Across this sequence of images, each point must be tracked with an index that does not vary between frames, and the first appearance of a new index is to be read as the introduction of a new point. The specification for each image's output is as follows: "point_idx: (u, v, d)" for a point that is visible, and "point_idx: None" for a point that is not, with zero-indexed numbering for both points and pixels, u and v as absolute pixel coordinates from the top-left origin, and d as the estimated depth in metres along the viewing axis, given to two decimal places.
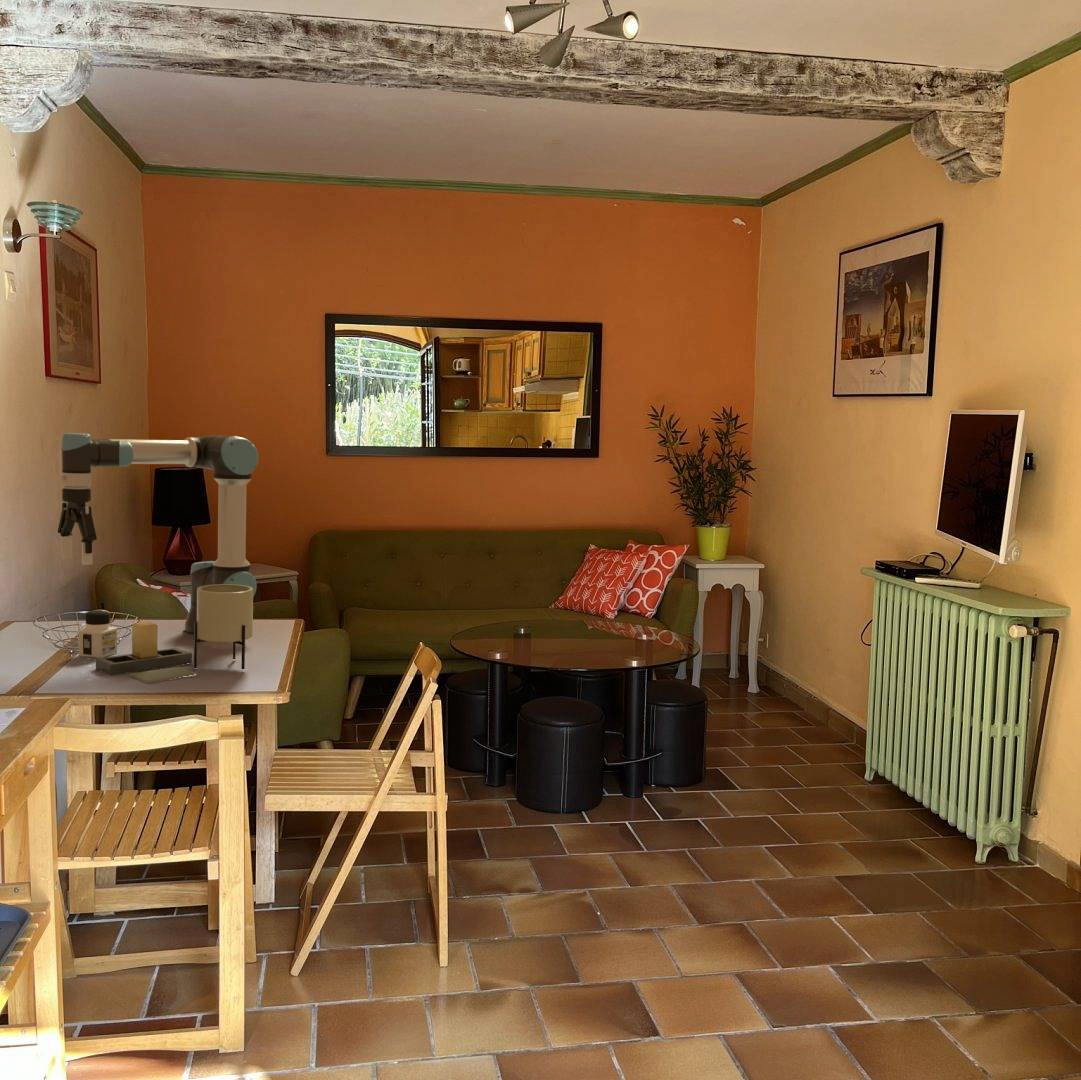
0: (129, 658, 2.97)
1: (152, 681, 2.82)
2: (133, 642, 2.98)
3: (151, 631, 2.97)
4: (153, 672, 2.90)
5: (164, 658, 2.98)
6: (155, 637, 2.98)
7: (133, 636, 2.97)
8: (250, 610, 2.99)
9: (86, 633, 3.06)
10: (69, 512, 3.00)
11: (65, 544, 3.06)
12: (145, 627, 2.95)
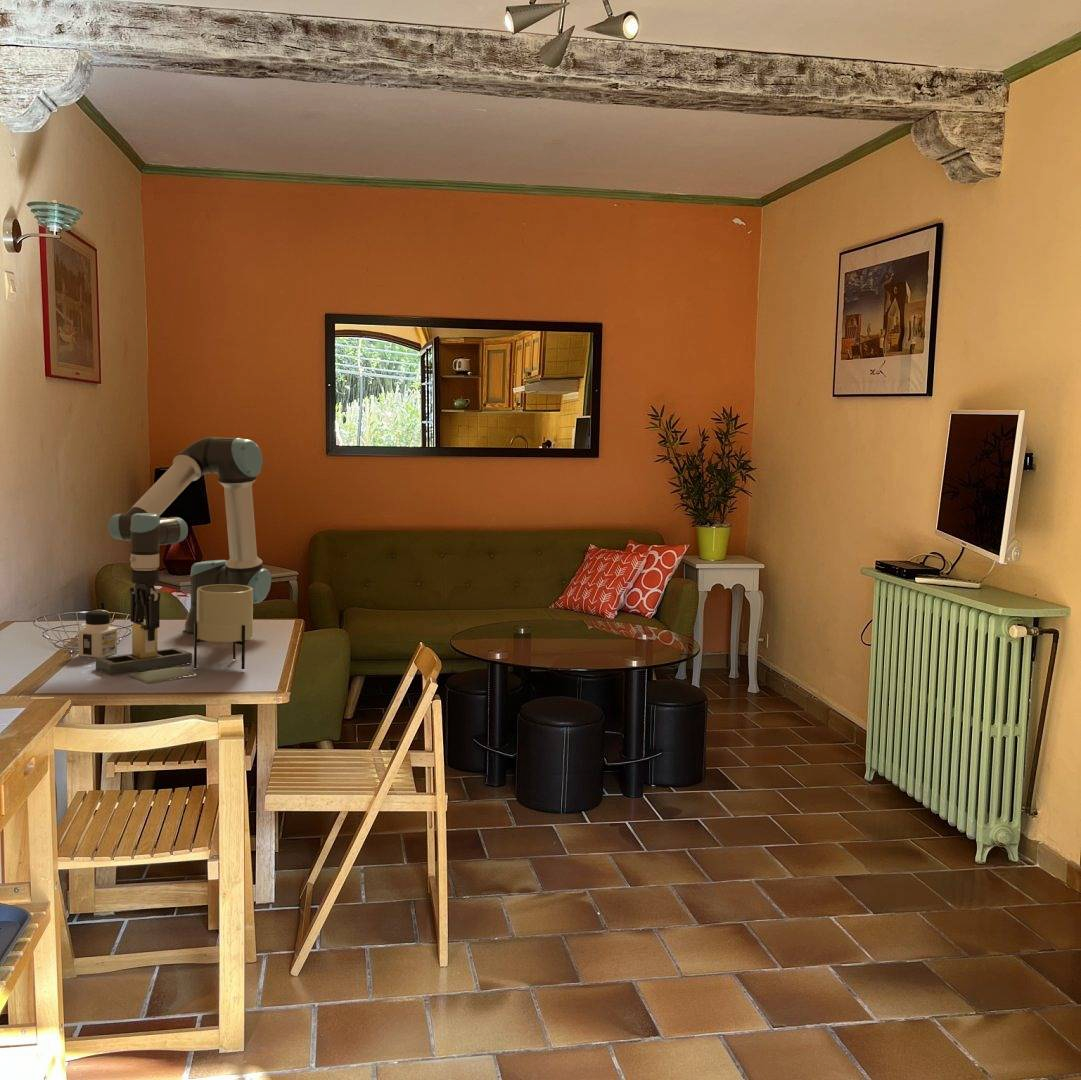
0: (129, 658, 2.97)
1: (152, 681, 2.82)
2: (133, 642, 2.98)
3: None
4: (153, 672, 2.90)
5: (164, 658, 2.98)
6: (155, 637, 2.98)
7: (133, 636, 2.97)
8: (250, 610, 2.99)
9: (86, 633, 3.06)
10: (138, 593, 2.96)
11: None
12: (145, 627, 2.95)
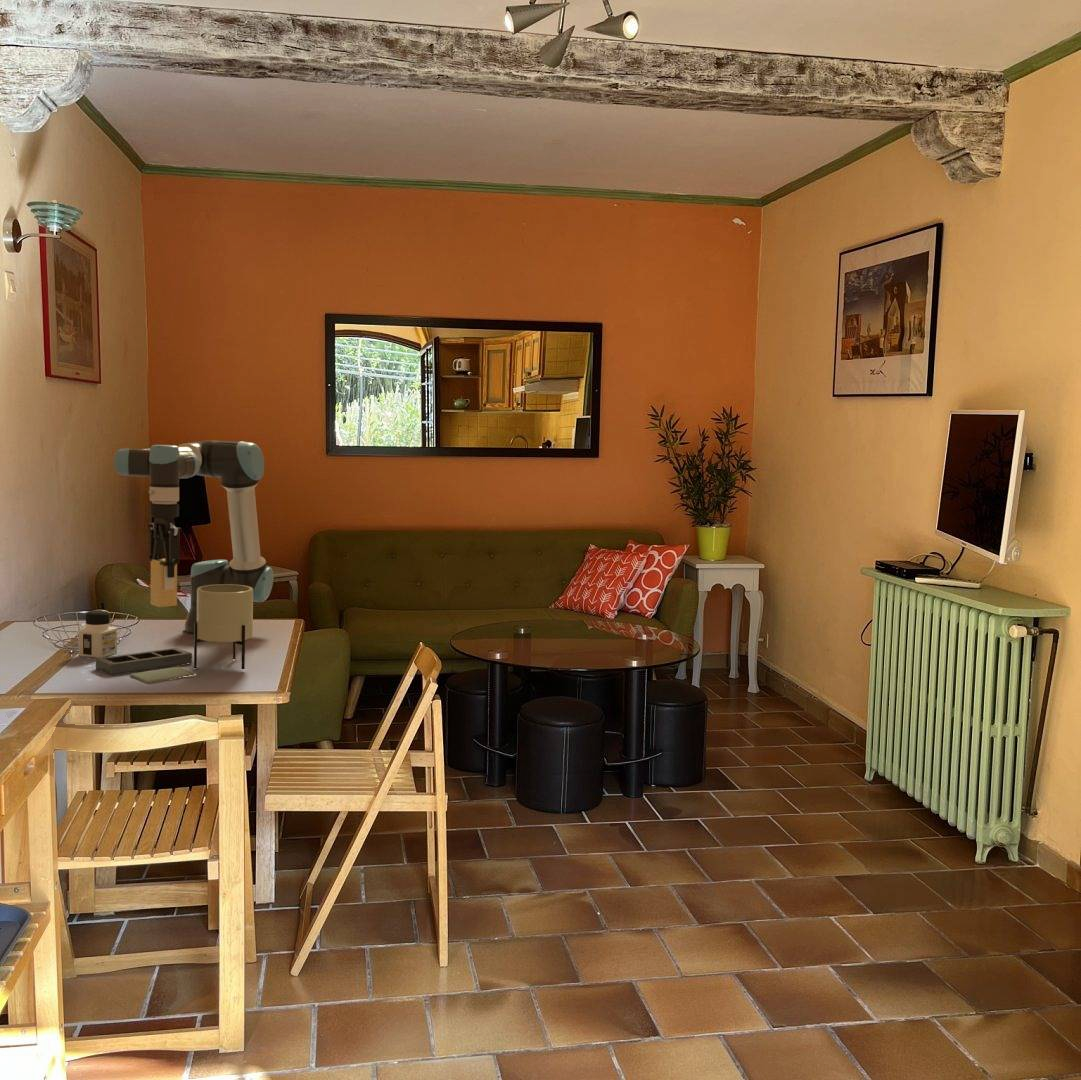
0: (129, 658, 2.97)
1: (152, 681, 2.82)
2: (152, 579, 2.86)
3: None
4: (153, 672, 2.90)
5: (164, 658, 2.98)
6: (174, 574, 2.86)
7: (151, 573, 2.86)
8: (250, 610, 2.99)
9: (86, 633, 3.06)
10: (157, 528, 2.84)
11: None
12: (164, 563, 2.83)
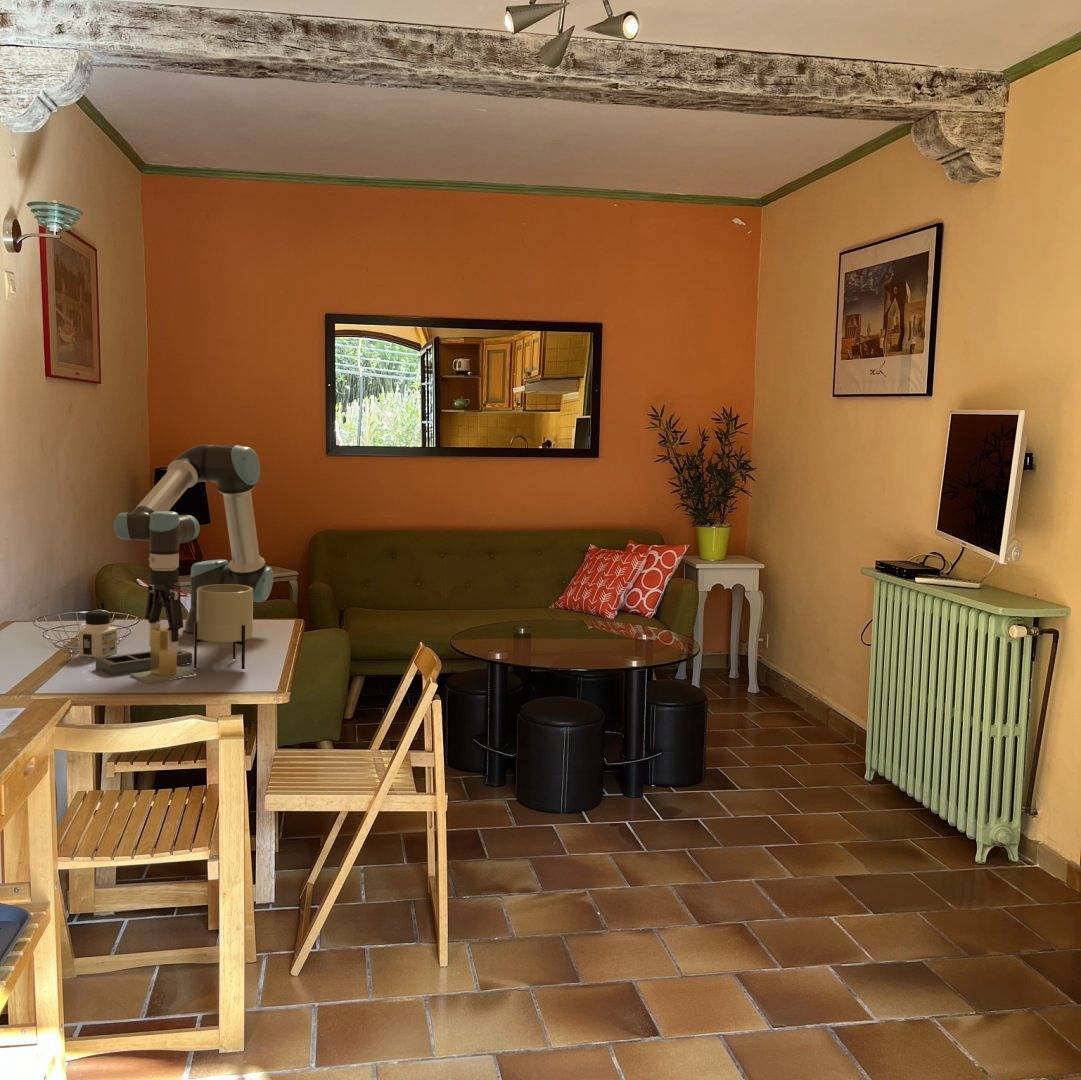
0: (129, 658, 2.97)
1: (152, 681, 2.82)
2: (152, 649, 2.88)
3: None
4: None
5: None
6: None
7: (151, 642, 2.88)
8: (250, 610, 2.99)
9: (86, 633, 3.06)
10: (156, 594, 2.86)
11: None
12: (164, 633, 2.86)
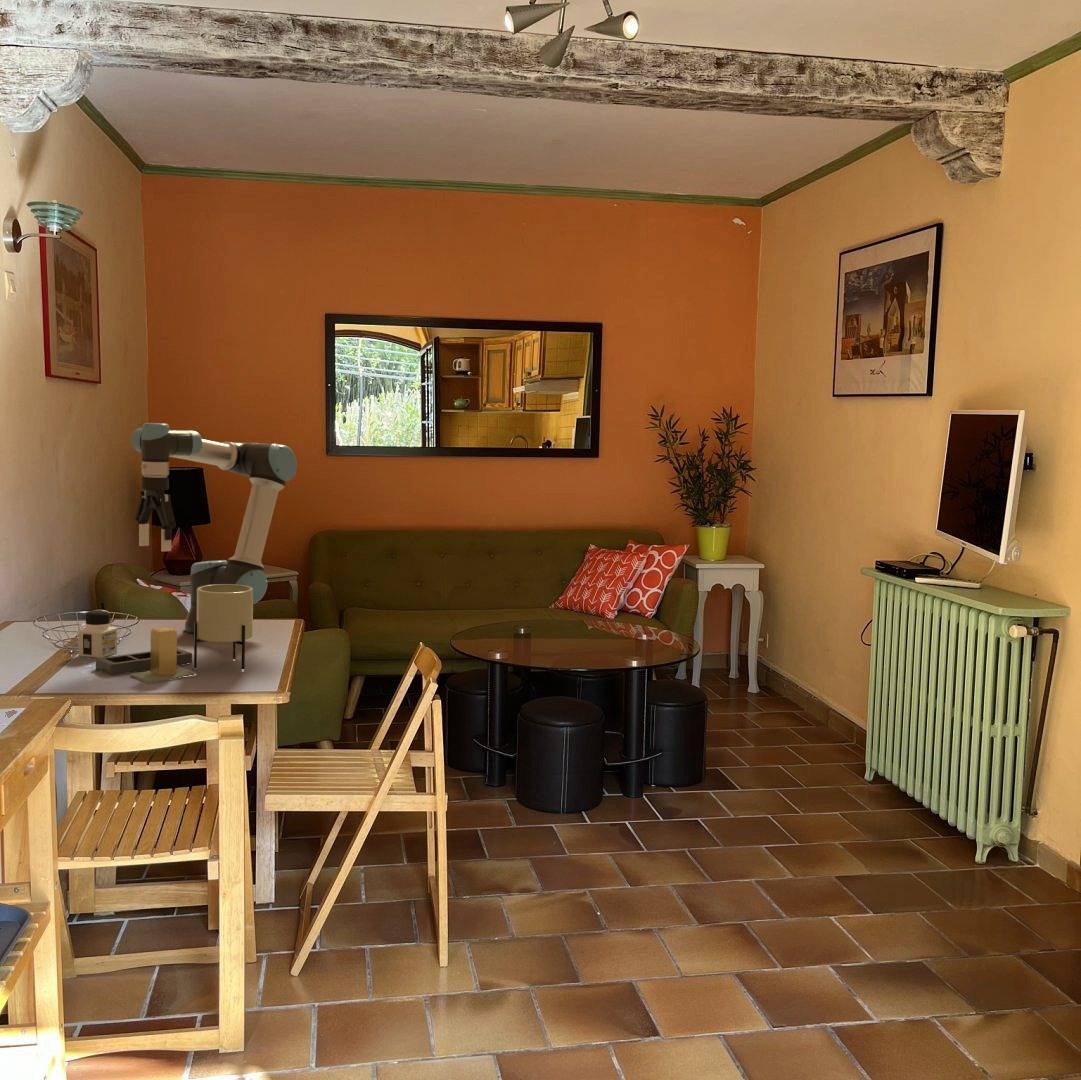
0: (129, 658, 2.97)
1: (152, 681, 2.82)
2: (152, 649, 2.88)
3: (170, 638, 2.87)
4: None
5: None
6: (174, 643, 2.88)
7: (151, 642, 2.88)
8: (250, 610, 2.99)
9: (86, 633, 3.06)
10: (148, 500, 3.08)
11: (143, 531, 3.13)
12: (164, 633, 2.86)
